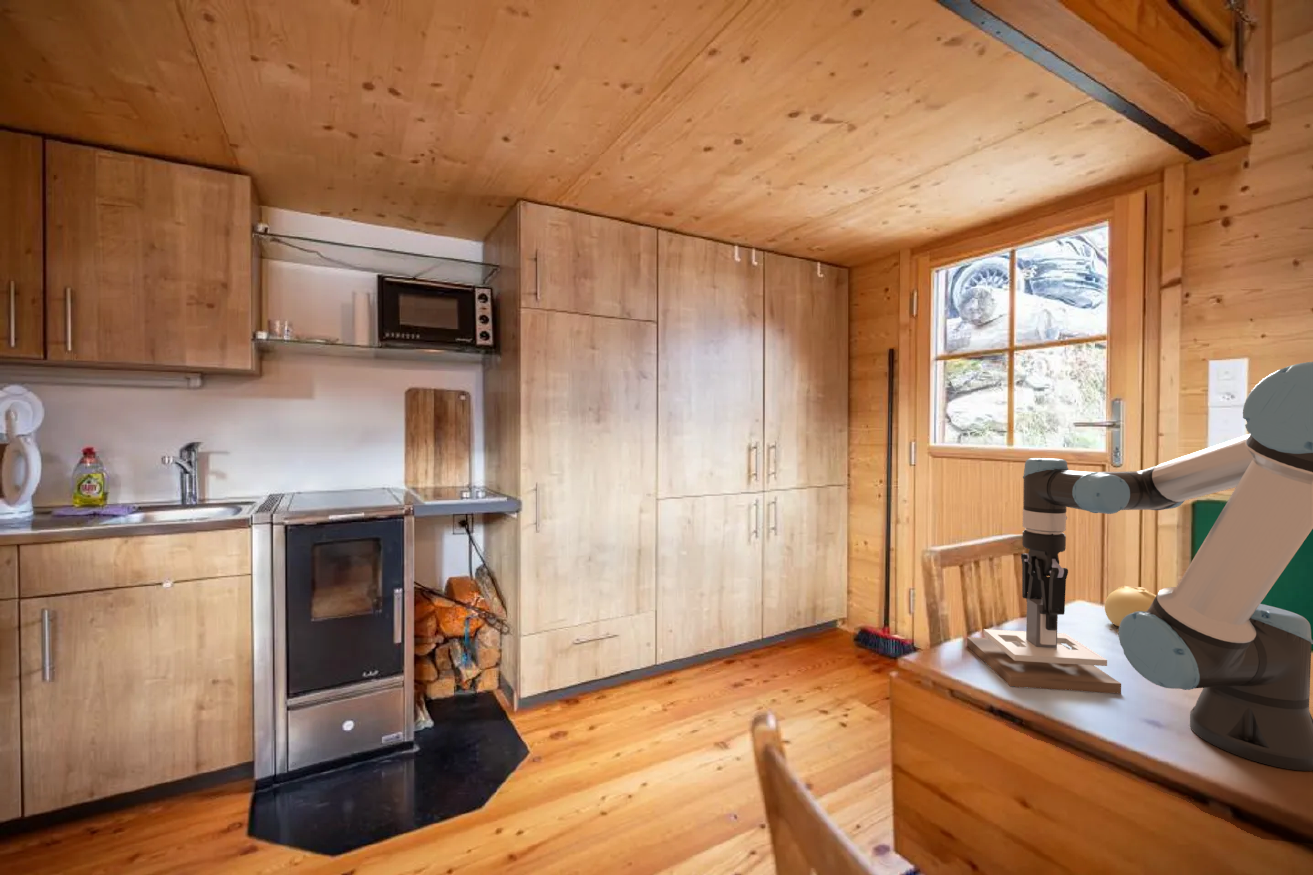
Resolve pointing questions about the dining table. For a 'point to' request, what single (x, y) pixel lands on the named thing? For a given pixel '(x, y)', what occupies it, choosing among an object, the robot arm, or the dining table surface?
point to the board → (1042, 671)
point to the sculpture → (1127, 602)
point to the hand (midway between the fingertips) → (1041, 639)
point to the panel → (1044, 652)
